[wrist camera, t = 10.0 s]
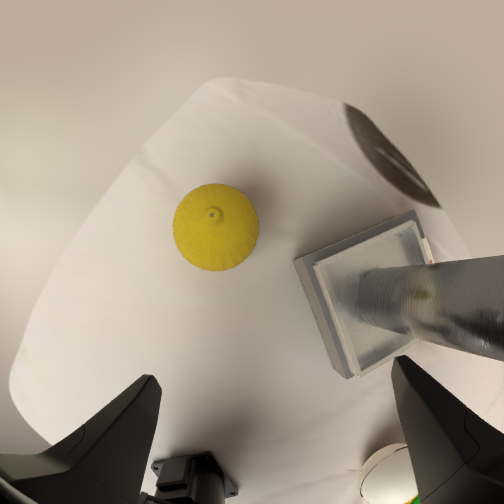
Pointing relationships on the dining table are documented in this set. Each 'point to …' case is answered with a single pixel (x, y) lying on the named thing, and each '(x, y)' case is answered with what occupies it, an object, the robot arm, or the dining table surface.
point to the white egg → (388, 476)
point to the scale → (346, 288)
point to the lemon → (215, 227)
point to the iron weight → (440, 303)
